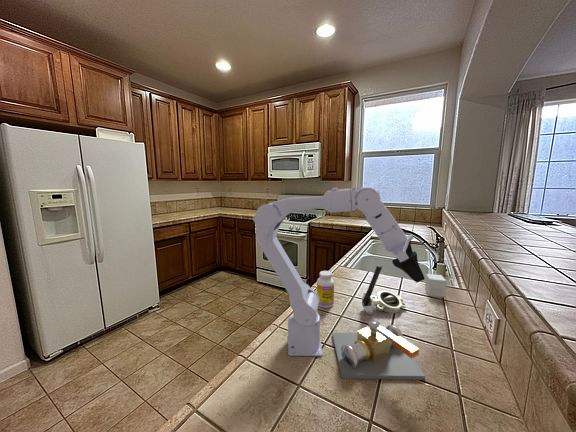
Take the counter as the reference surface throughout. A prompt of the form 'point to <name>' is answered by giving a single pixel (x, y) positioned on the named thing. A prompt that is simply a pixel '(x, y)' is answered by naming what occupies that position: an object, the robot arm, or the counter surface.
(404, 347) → the lever
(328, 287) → the supplement bottle
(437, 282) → the product box
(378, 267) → the butterfly valve
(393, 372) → the mounting board
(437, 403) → the counter surface
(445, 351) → the counter surface
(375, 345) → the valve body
